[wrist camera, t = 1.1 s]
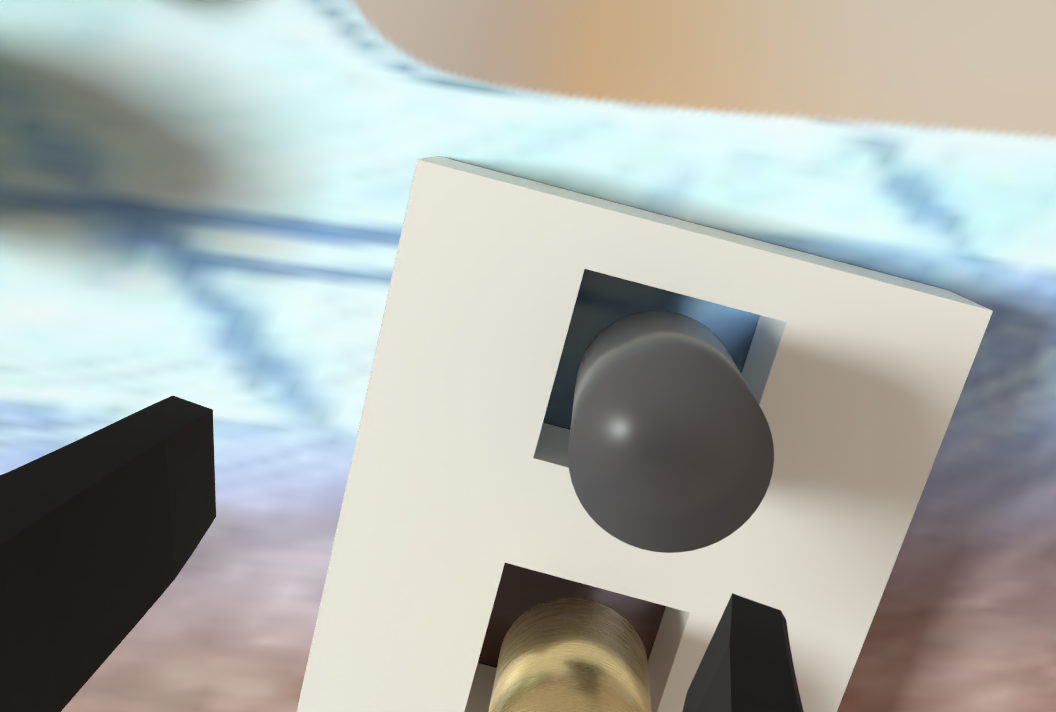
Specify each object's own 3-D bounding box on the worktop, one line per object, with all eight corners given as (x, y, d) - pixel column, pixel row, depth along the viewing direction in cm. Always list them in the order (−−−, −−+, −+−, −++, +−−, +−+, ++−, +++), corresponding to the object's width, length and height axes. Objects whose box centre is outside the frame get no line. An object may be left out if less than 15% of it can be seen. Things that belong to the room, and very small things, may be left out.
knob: (710, 483, 23) (737, 575, 19) (557, 442, 23) (545, 523, 19) (758, 334, 22) (801, 390, 18) (599, 292, 22) (598, 336, 18)
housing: (686, 983, 30) (695, 1073, 28) (279, 871, 31) (245, 948, 28) (946, 289, 25) (993, 310, 22) (439, 156, 25) (417, 159, 22)
